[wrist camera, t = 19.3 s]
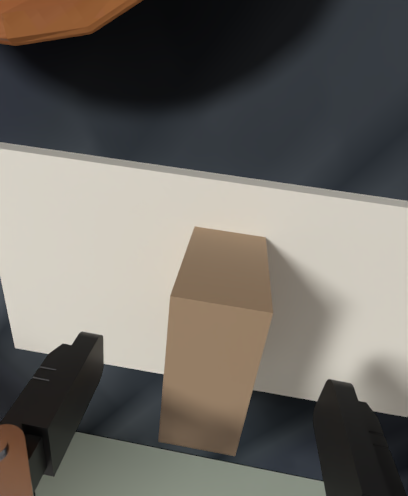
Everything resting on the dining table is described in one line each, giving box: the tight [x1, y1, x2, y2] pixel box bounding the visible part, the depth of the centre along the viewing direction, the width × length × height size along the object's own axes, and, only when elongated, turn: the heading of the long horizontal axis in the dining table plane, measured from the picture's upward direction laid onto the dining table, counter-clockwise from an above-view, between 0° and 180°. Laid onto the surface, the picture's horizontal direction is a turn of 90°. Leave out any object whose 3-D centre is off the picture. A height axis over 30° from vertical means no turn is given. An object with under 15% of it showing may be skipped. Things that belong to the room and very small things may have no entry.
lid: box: [0, 142, 408, 456], centre depth 14 cm, size 22×11×6 cm, turn 83°
